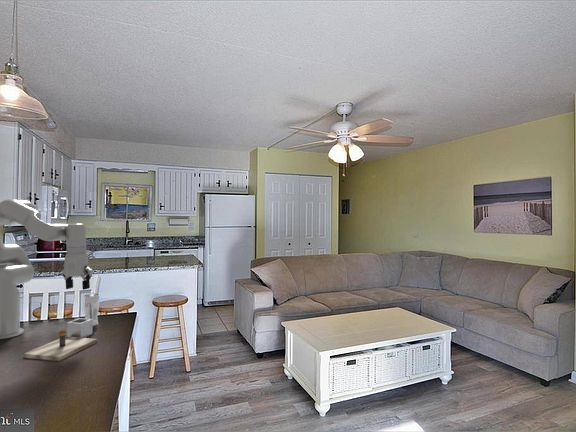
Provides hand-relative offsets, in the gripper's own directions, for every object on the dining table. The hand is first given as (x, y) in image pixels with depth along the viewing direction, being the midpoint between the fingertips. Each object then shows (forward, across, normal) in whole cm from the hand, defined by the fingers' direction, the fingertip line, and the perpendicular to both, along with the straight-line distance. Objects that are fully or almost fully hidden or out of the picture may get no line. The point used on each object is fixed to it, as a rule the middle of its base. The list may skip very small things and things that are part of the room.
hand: (77, 288), depth 151 cm
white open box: (+22, 0, 0) cm, 22 cm away
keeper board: (+22, +6, -13) cm, 26 cm away
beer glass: (+22, -9, +15) cm, 28 cm away
